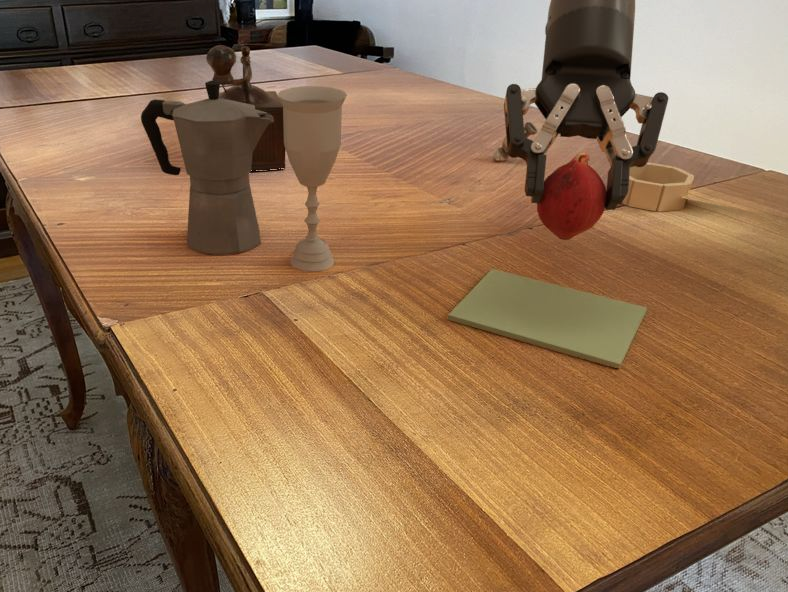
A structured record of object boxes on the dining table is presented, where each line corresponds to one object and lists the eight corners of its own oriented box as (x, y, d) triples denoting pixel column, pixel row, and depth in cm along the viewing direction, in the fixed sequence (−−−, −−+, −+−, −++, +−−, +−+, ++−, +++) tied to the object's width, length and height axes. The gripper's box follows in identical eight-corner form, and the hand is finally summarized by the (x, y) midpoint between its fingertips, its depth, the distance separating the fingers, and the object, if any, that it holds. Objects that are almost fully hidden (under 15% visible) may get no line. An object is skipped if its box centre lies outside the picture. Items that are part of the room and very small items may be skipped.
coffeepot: (289, 231, 86) (286, 75, 76) (263, 263, 78) (256, 95, 69) (173, 217, 89) (156, 67, 80) (137, 247, 82) (114, 84, 72)
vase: (536, 159, 111) (543, 121, 108) (524, 168, 107) (531, 128, 104) (504, 153, 113) (509, 115, 110) (491, 162, 110) (496, 123, 106)
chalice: (284, 247, 82) (281, 85, 72) (343, 248, 82) (347, 86, 72) (278, 275, 76) (274, 102, 66) (342, 276, 76) (346, 104, 66)
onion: (568, 258, 61) (588, 168, 57) (517, 236, 65) (531, 150, 61) (609, 242, 64) (630, 155, 60) (557, 222, 68) (574, 139, 64)
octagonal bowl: (690, 195, 98) (697, 170, 96) (679, 216, 91) (687, 190, 89) (620, 182, 102) (626, 158, 100) (605, 202, 95) (611, 176, 93)
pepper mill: (209, 153, 112) (199, 30, 103) (278, 149, 114) (275, 29, 104) (215, 185, 99) (205, 48, 90) (292, 181, 101) (291, 46, 92)
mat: (646, 312, 70) (647, 307, 69) (618, 369, 61) (620, 364, 61) (491, 273, 77) (492, 268, 76) (447, 319, 68) (447, 314, 68)
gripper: (513, -1, 62) (493, 176, 58) (688, 6, 59) (678, 190, 56) (503, 53, 69) (485, 213, 66) (659, 61, 67) (648, 227, 63)
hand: (574, 202), depth 61 cm, fingers closed on onion, 5 cm apart
